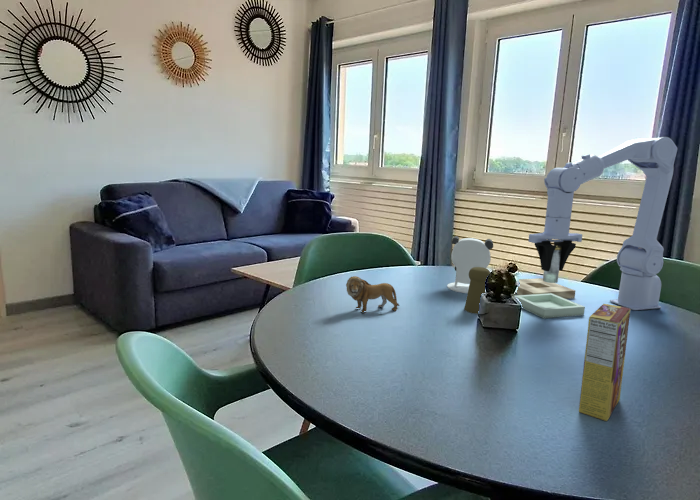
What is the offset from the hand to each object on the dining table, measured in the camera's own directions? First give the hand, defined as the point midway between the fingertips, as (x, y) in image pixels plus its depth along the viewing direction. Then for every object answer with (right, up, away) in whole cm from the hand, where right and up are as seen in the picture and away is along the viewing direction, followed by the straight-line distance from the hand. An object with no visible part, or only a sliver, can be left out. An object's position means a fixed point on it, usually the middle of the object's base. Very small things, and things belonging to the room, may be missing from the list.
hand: (551, 270), depth 118 cm
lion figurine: (-46, -10, -4) cm, 47 cm away
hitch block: (+3, -7, +17) cm, 19 cm away
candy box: (-13, -19, -46) cm, 51 cm away
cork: (-19, -10, -1) cm, 22 cm away
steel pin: (0, -3, +1) cm, 3 cm away
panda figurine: (-16, -6, +20) cm, 26 cm away
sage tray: (0, -10, +2) cm, 10 cm away
